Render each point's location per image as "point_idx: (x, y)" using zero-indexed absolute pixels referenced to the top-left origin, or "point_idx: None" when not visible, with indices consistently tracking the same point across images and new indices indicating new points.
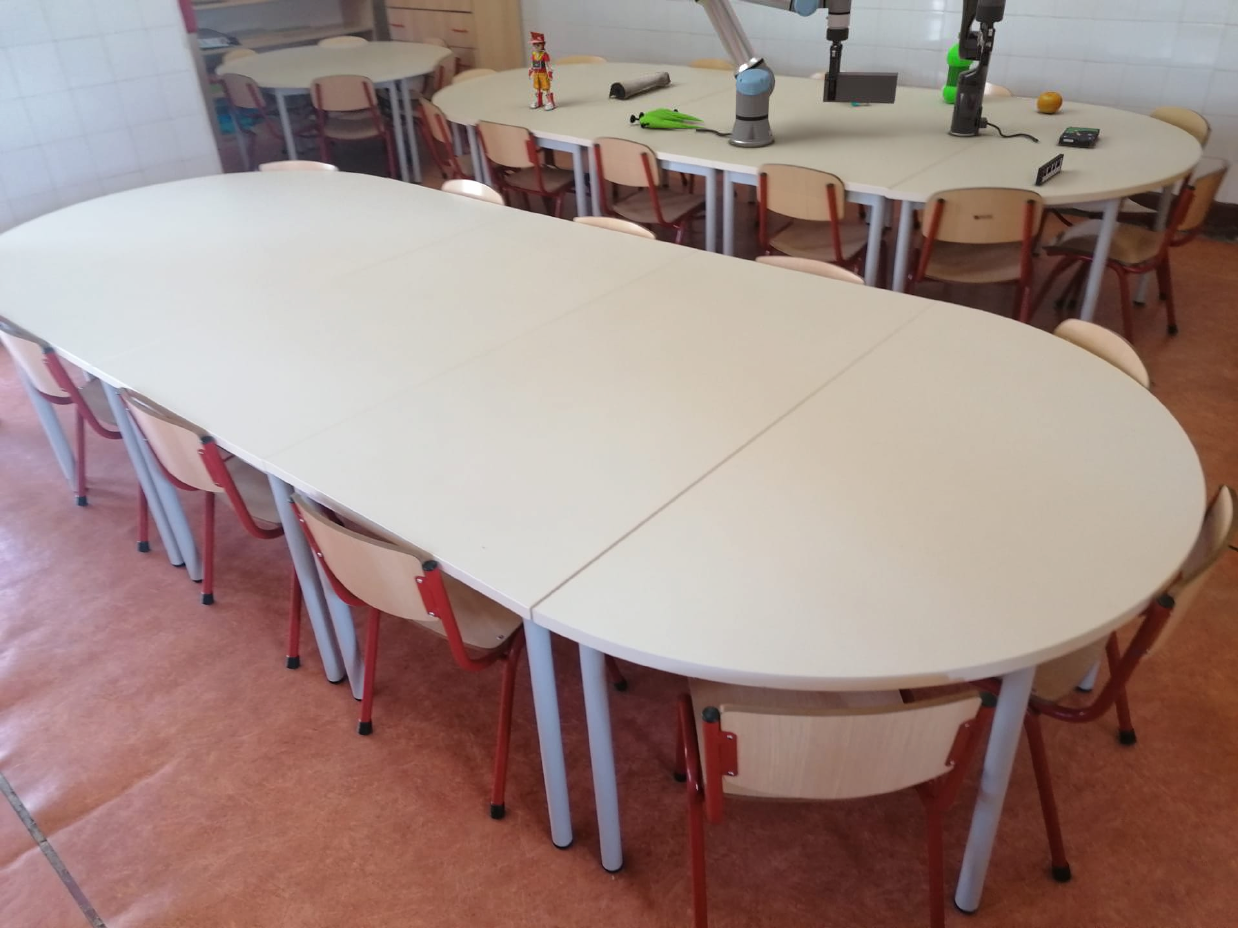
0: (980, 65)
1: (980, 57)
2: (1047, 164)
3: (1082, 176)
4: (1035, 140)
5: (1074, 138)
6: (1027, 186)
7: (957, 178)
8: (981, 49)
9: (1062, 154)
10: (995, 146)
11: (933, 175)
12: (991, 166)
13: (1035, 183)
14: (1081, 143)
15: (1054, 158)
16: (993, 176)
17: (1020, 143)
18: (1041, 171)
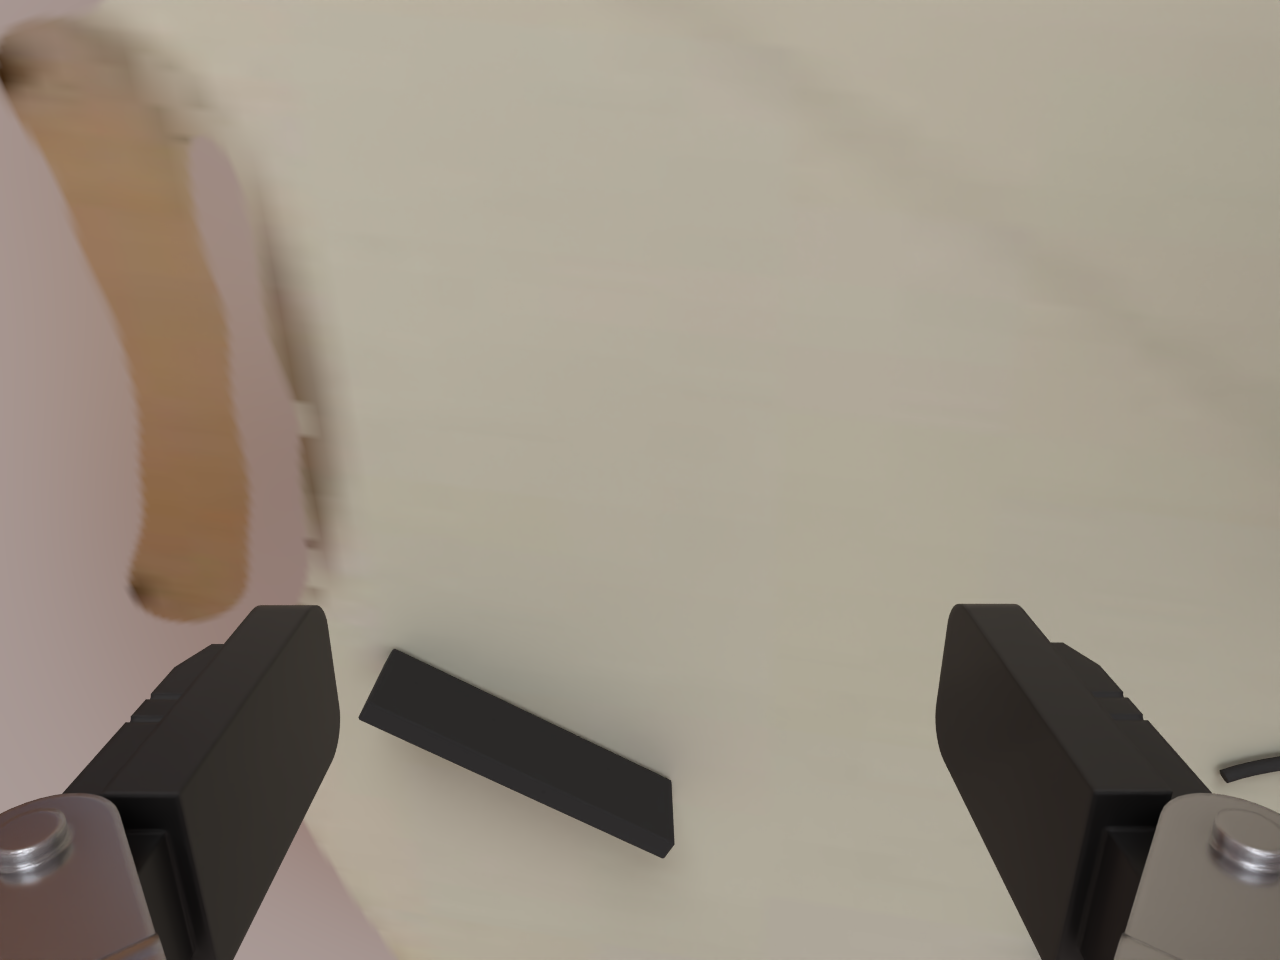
0: (257, 619)
1: (975, 709)
2: (444, 754)
3: (576, 864)
4: (1234, 768)
5: None
6: (375, 608)
7: (486, 231)
8: (1053, 840)
9: (654, 851)
10: (1189, 547)
11: (542, 63)
12: (754, 471)
13: (394, 652)
14: None
15: (571, 804)
16: (547, 458)
17: (1223, 687)
18: (363, 707)
